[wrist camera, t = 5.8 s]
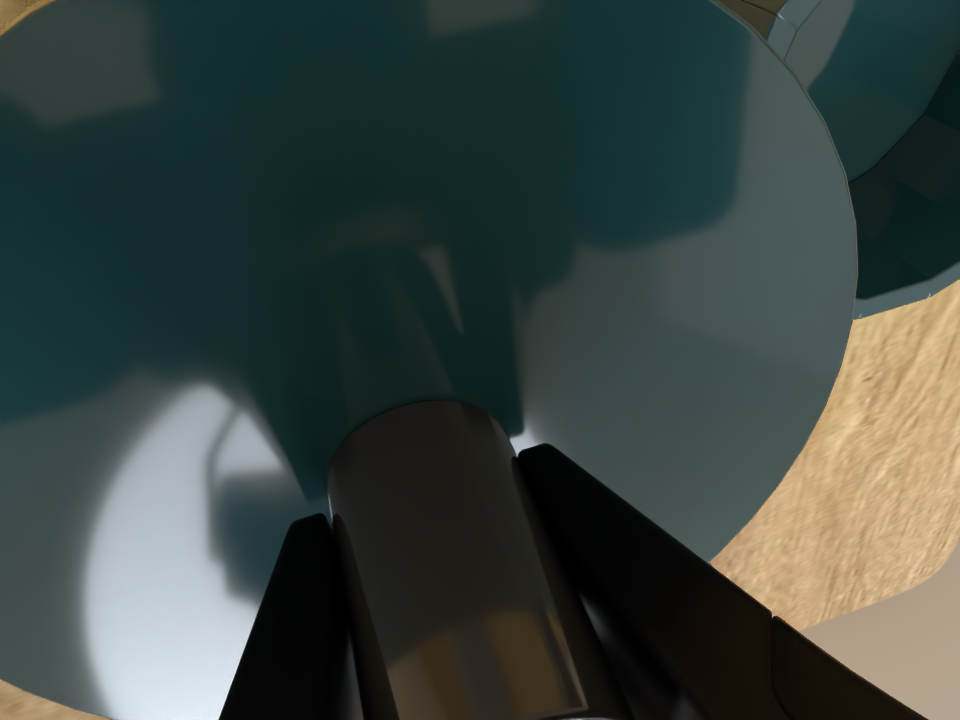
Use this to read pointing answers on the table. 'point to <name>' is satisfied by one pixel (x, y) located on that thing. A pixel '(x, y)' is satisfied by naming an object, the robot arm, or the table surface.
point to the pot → (884, 128)
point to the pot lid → (389, 326)
